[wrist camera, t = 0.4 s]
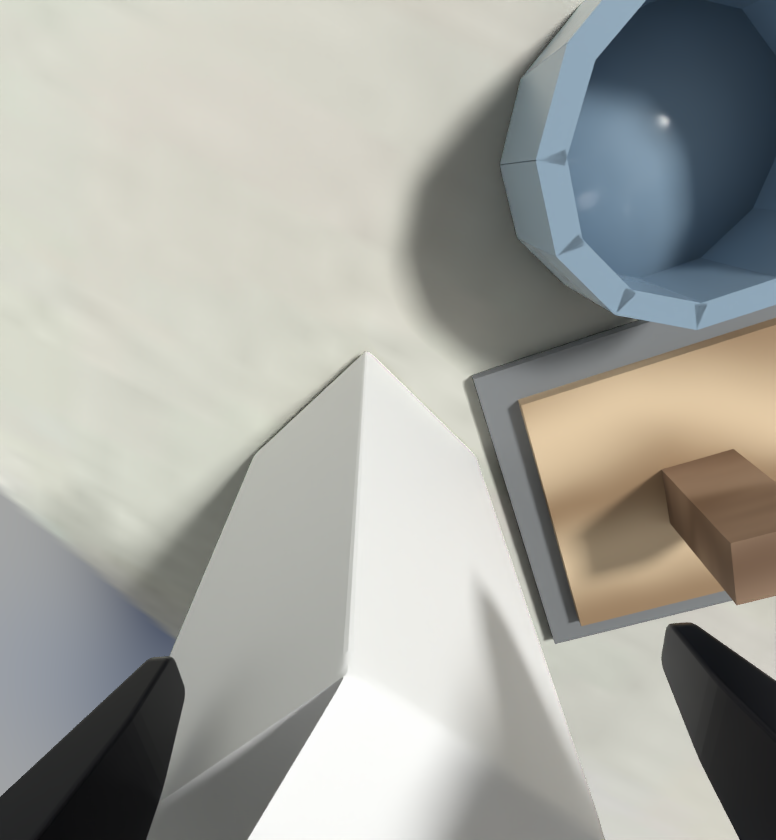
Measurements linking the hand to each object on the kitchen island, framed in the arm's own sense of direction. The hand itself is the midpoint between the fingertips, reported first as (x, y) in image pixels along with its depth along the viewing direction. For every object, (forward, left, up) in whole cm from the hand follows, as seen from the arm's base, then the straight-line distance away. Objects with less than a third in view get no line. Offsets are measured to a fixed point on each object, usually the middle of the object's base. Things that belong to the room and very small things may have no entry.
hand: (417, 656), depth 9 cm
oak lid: (-9, -11, -13) cm, 19 cm away
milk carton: (-3, +3, -14) cm, 14 cm away
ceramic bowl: (+5, -11, -14) cm, 18 cm away
